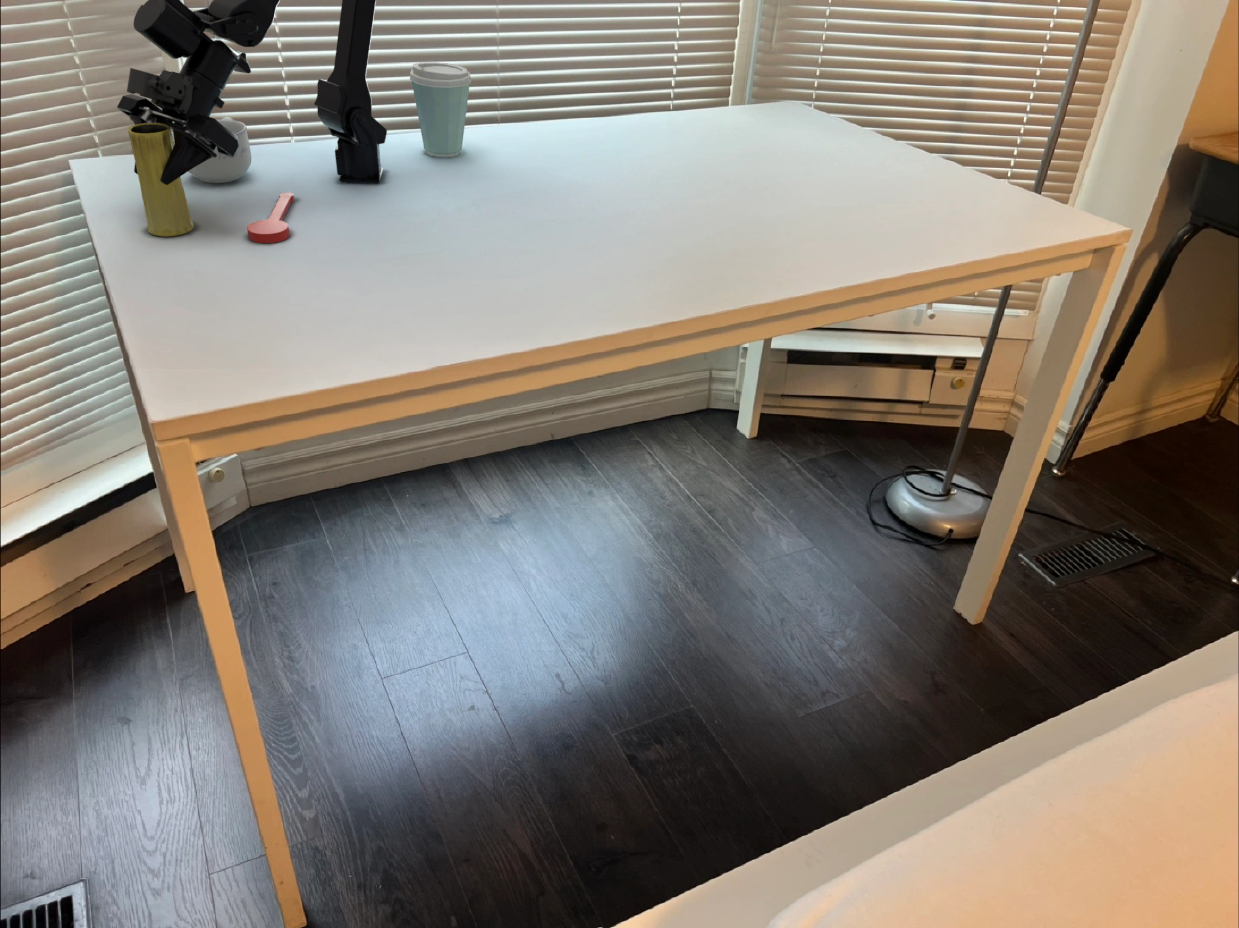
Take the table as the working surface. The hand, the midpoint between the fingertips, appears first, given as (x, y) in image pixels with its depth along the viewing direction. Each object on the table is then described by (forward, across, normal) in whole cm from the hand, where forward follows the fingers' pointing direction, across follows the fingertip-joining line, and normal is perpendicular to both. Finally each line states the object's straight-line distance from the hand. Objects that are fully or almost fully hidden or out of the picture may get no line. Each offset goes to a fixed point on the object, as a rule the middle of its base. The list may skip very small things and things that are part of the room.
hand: (150, 178), depth 132 cm
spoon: (-4, +8, +15) cm, 18 cm away
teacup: (-10, -13, +21) cm, 26 cm away
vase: (+5, 0, +7) cm, 8 cm away
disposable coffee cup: (-33, +6, +44) cm, 55 cm away
